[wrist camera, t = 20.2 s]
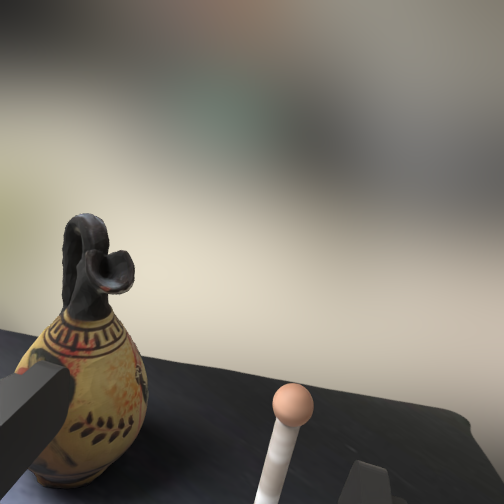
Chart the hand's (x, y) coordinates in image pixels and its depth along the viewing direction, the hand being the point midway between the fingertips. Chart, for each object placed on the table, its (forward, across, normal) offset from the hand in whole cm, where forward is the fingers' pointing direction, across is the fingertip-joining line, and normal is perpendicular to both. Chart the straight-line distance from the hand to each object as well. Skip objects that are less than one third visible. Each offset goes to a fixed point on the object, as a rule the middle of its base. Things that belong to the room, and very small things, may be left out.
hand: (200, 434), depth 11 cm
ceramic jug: (+26, +19, +37) cm, 49 cm away
